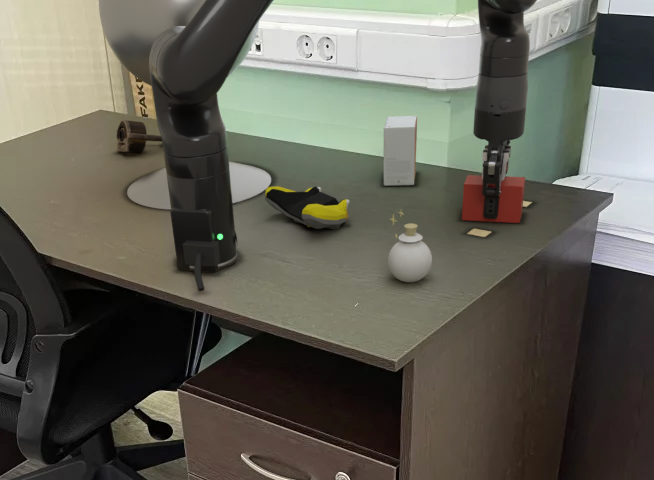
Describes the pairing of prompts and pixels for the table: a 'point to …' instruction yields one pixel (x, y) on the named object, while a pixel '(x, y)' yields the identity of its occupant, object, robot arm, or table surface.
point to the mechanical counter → (133, 136)
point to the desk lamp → (134, 52)
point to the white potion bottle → (409, 255)
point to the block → (508, 199)
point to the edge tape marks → (484, 233)
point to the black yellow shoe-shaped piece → (309, 206)
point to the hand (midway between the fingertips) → (492, 211)
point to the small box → (400, 150)
